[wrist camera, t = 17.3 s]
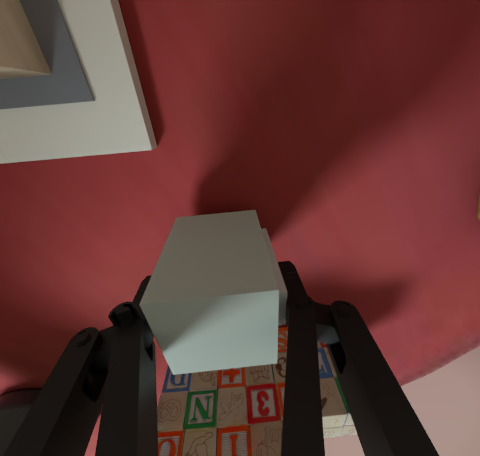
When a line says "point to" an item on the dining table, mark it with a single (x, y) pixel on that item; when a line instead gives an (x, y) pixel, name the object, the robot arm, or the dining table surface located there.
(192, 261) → the sage block
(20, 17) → the beech block
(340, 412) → the stack of blocks
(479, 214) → the food
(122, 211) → the dining table surface
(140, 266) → the dining table surface
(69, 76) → the white square base plate
